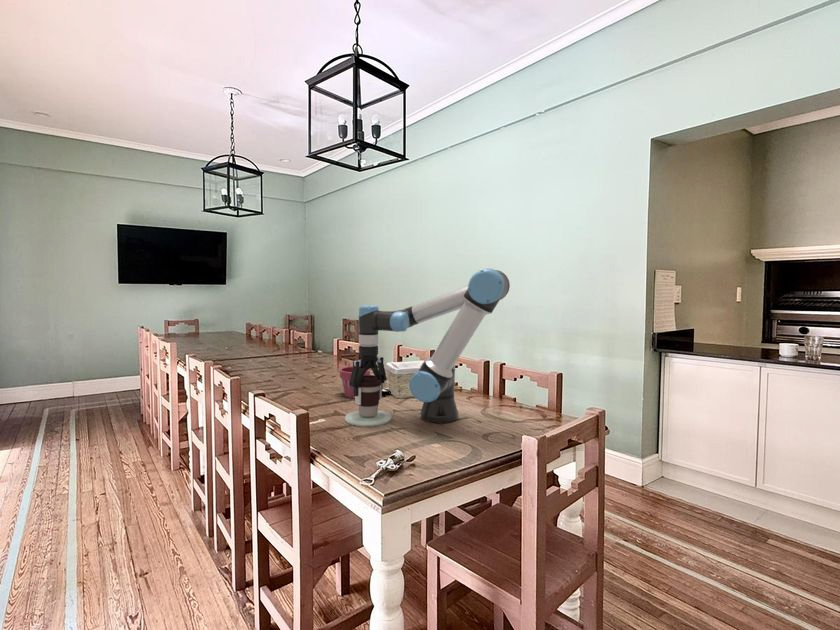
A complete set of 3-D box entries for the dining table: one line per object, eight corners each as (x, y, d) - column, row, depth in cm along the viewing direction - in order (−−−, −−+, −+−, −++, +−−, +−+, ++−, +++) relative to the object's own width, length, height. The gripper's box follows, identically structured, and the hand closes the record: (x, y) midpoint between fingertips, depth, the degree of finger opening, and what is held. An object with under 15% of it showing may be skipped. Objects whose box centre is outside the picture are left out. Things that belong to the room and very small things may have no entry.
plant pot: (371, 398, 205) (372, 371, 204) (341, 400, 202) (341, 372, 201) (367, 391, 219) (367, 365, 218) (338, 392, 215) (338, 366, 214)
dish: (370, 409, 188) (370, 406, 187) (400, 419, 175) (400, 416, 175) (335, 419, 174) (335, 415, 174) (365, 430, 162) (365, 426, 162)
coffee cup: (383, 411, 179) (383, 374, 178) (378, 418, 169) (378, 380, 168) (358, 410, 180) (358, 373, 179) (352, 417, 170) (352, 379, 169)
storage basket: (394, 399, 204) (394, 368, 203) (384, 391, 219) (385, 362, 218) (442, 395, 213) (442, 365, 212) (429, 388, 228) (430, 359, 227)
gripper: (383, 341, 183) (383, 394, 185) (339, 346, 167) (339, 405, 169) (396, 343, 178) (395, 397, 180) (351, 349, 162) (351, 409, 164)
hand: (368, 401), depth 174 cm, fingers closed on coffee cup, 10 cm apart
